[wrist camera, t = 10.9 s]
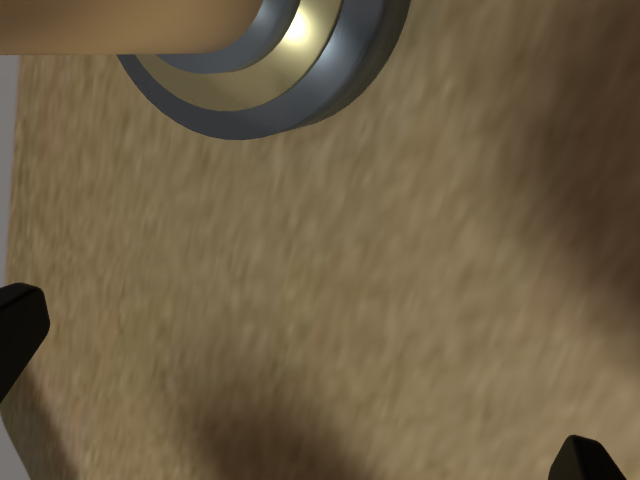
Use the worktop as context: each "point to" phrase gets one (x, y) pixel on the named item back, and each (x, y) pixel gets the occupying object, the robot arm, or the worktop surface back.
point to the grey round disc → (281, 73)
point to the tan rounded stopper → (150, 30)
